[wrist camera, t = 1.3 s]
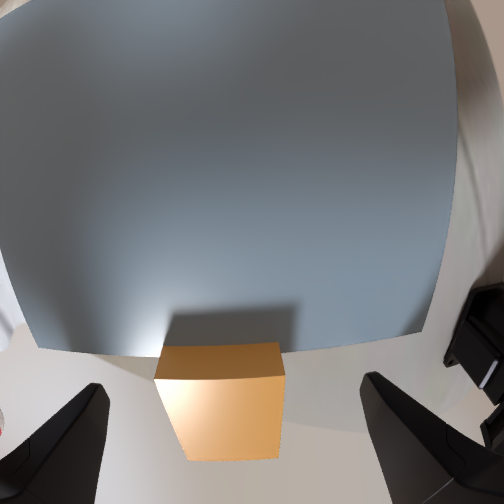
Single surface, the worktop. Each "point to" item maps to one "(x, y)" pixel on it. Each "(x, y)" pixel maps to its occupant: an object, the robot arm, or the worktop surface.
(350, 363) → the worktop surface
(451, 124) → the lid
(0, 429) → the supplement tub
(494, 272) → the worktop surface
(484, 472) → the robot arm
